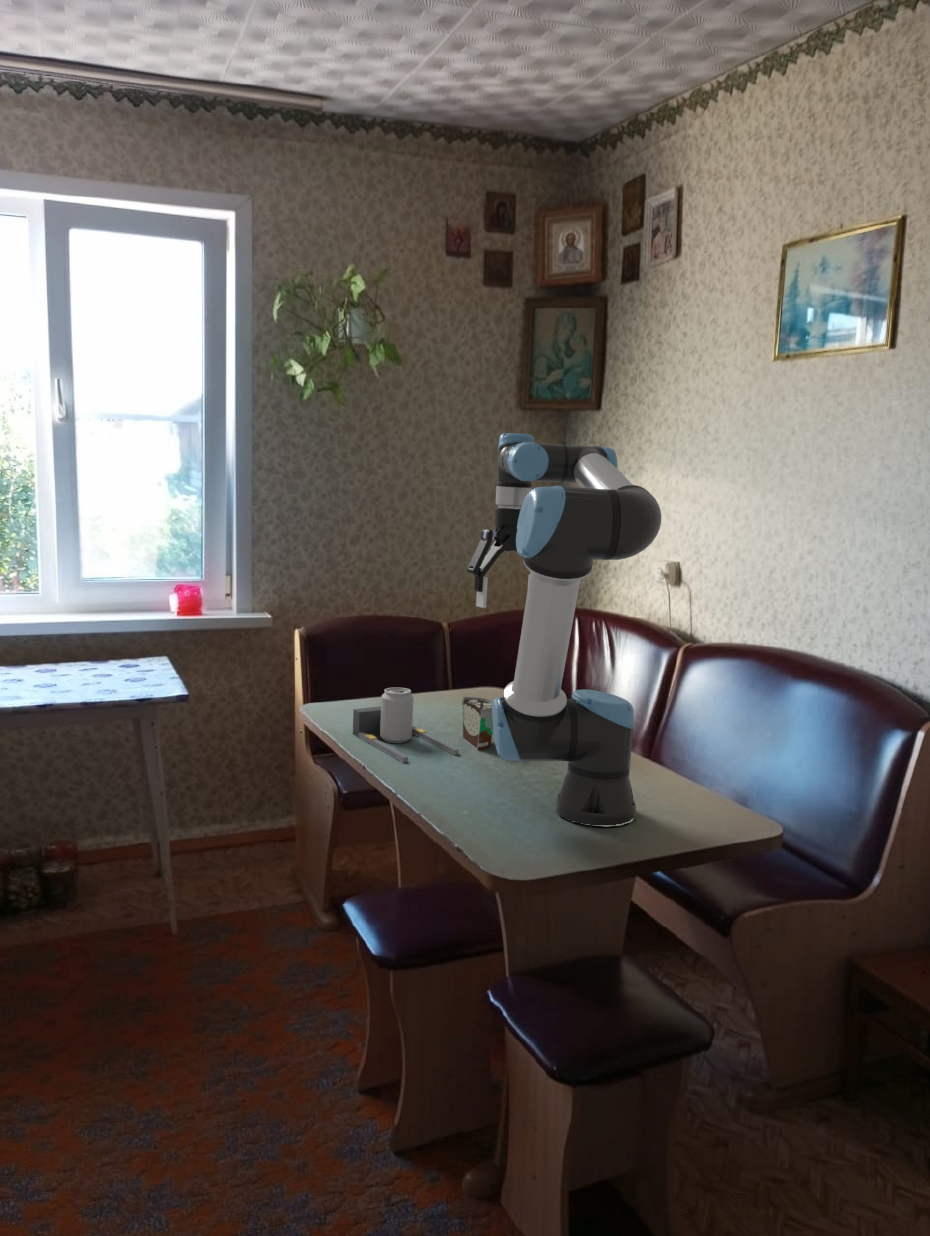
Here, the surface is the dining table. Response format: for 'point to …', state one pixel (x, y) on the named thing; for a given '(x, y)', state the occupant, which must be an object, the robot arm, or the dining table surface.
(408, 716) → the can
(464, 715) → the food container
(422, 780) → the dining table surface
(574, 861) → the dining table surface
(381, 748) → the guide channel
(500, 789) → the dining table surface
